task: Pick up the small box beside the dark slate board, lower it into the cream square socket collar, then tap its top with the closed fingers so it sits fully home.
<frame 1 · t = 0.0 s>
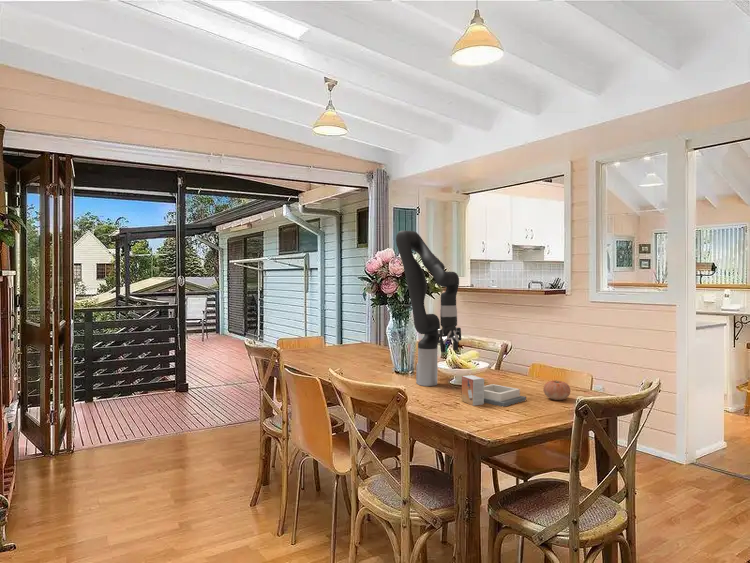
hand: (449, 351, 237), 17 cm above the table, tool pointing down, fingers open, 8 cm apart
small box: (472, 403, 212), on the table
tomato: (556, 399, 219), on the table
socket board: (496, 399, 218), on the table
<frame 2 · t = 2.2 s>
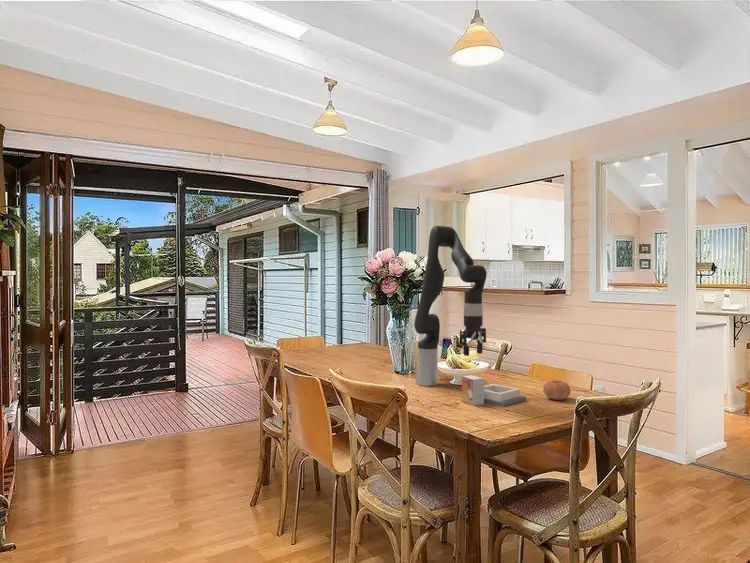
hand: (473, 354, 212), 20 cm above the table, tool pointing down, fingers open, 8 cm apart
nothing on the table moved.
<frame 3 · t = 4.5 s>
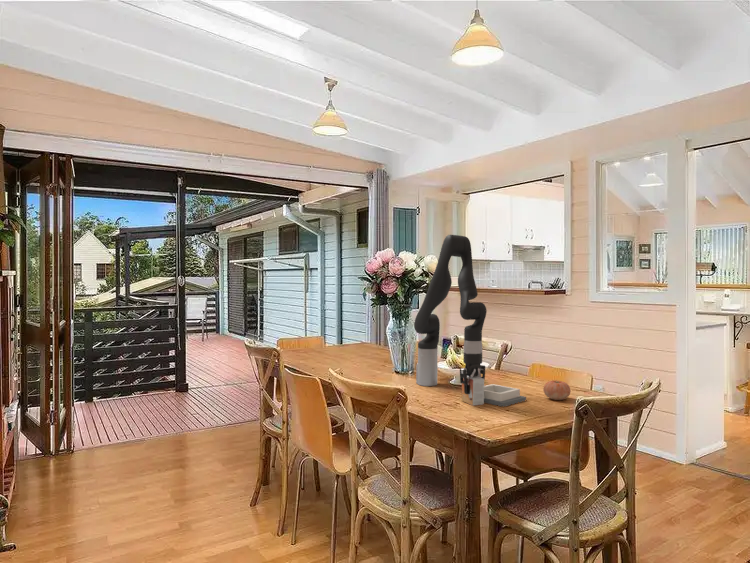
hand: (472, 392, 212), 4 cm above the table, tool pointing down, fingers closed on small box, 6 cm apart
small box: (472, 403, 212), on the table, touching gripper
everything else where it was.
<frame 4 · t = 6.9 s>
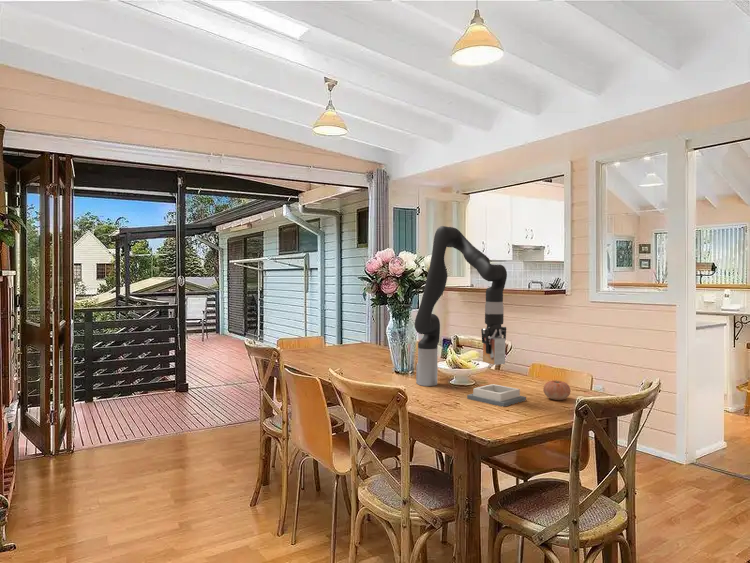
hand: (493, 352, 216), 20 cm above the table, tool pointing down, fingers closed on small box, 6 cm apart
small box: (493, 363, 216), point 15 cm above the table, touching gripper
everything else where it was.
when the fingers open (7 cm above the table, at t = 9.6 s): small box stays where it is, resting on socket board.
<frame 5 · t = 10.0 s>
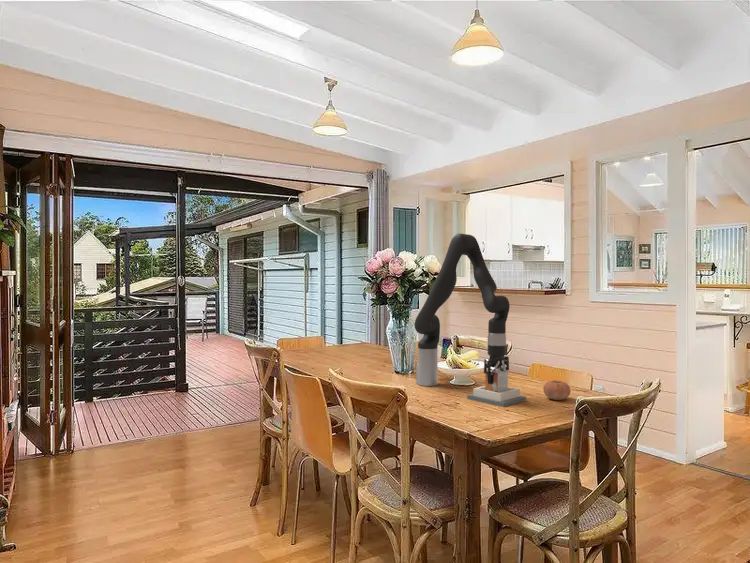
hand: (496, 382, 217), 7 cm above the table, tool pointing down, fingers open, 8 cm apart
small box: (496, 396, 218), point 1 cm above the table, touching socket board
everything else where it was.
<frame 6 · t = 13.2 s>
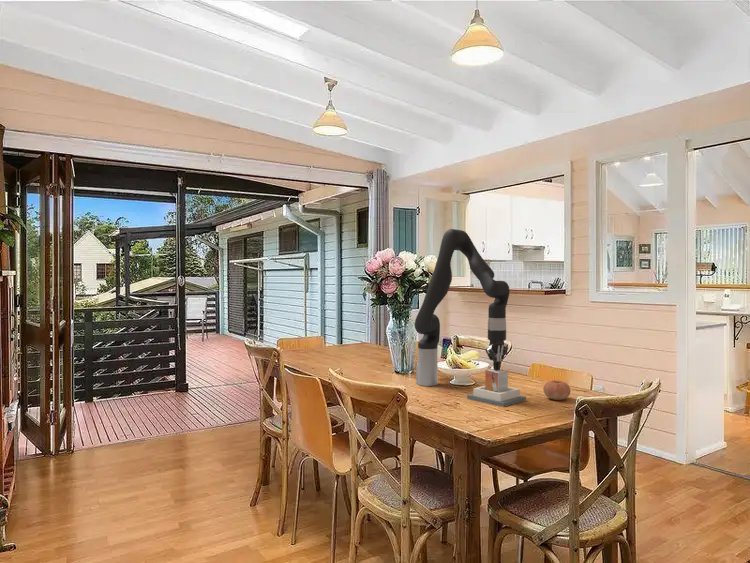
hand: (496, 370, 217), 12 cm above the table, tool pointing down, fingers closed
nothing on the table moved.
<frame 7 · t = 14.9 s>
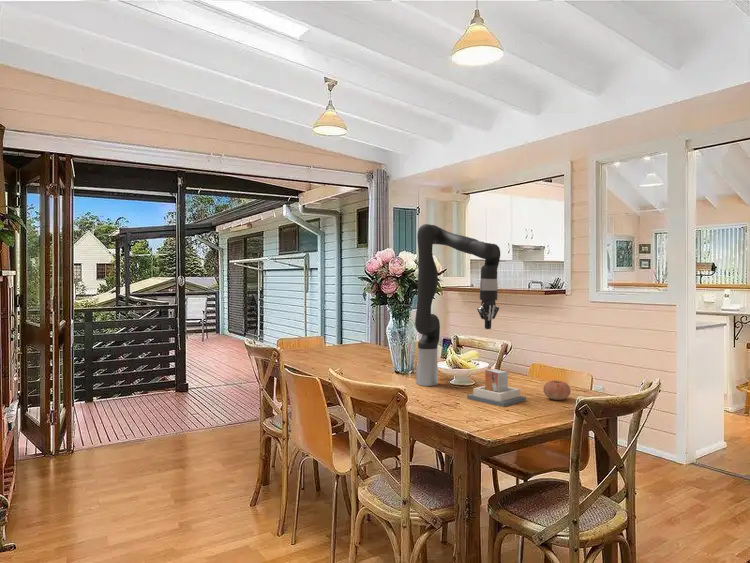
hand: (487, 328, 227), 28 cm above the table, tool pointing down, fingers closed
nothing on the table moved.
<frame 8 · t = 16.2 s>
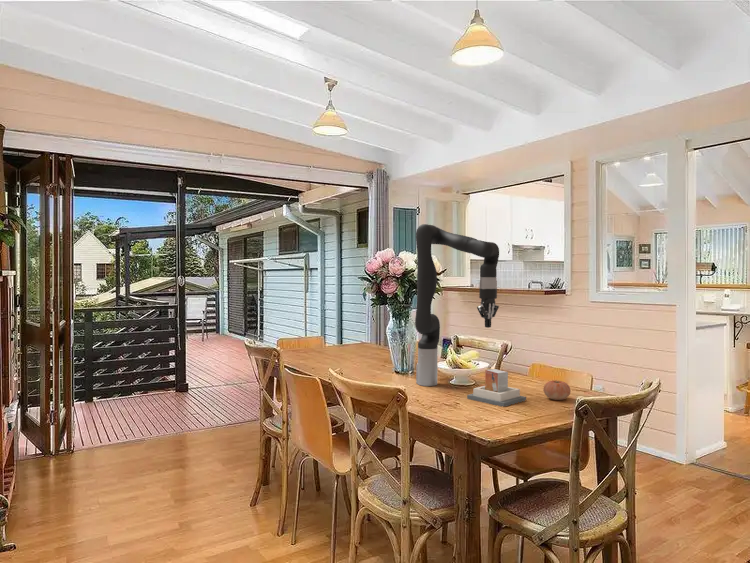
hand: (487, 327, 228), 29 cm above the table, tool pointing down, fingers closed
nothing on the table moved.
at the end: small box 0.1 cm off-centre on the socket board, point 1.3 cm above the socket board's base; small box tilted 0°; the gripper is holding nothing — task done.
